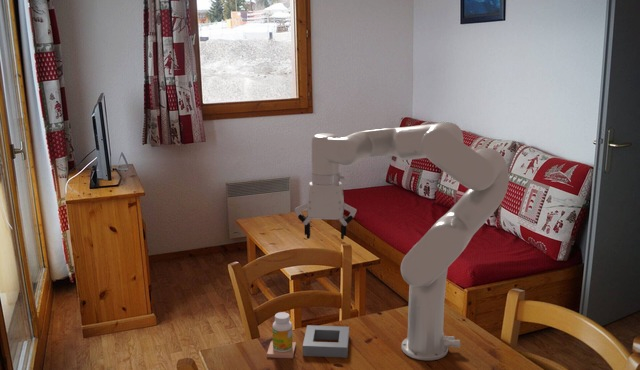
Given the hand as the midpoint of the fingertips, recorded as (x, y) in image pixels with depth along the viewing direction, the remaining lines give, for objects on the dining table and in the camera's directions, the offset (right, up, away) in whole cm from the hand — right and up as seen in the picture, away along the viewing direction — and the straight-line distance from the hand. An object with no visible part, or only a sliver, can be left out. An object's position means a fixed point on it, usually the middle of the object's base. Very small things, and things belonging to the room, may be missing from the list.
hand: (325, 237), depth 182 cm
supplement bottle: (-12, -30, -6) cm, 33 cm away
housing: (0, -30, -3) cm, 30 cm away
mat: (-12, -31, -6) cm, 33 cm away
